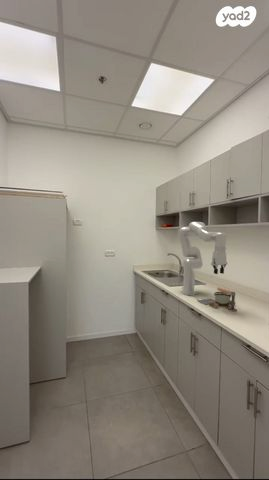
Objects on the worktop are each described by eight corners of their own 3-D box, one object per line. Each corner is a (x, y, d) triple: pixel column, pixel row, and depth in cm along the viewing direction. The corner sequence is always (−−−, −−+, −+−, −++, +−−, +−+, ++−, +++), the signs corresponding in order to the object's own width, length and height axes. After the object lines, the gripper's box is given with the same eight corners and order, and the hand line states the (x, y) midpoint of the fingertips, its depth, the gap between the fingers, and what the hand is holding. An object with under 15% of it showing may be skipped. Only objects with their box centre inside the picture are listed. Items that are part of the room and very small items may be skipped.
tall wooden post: (216, 290, 176) (217, 287, 176) (219, 289, 177) (219, 286, 177) (233, 296, 161) (233, 292, 161) (236, 295, 162) (236, 292, 162)
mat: (196, 300, 183) (196, 300, 183) (211, 299, 188) (211, 298, 188) (205, 305, 173) (205, 304, 173) (220, 303, 179) (220, 302, 179)
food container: (229, 304, 175) (229, 292, 175) (230, 307, 169) (231, 294, 169) (212, 303, 178) (213, 290, 178) (213, 305, 172) (214, 292, 172)
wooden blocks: (208, 305, 173) (208, 291, 173) (227, 302, 181) (227, 289, 180) (224, 312, 158) (225, 298, 158) (244, 309, 166) (245, 295, 165)
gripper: (225, 248, 175) (223, 272, 176) (207, 248, 168) (206, 273, 169) (232, 249, 168) (231, 274, 169) (214, 249, 161) (213, 275, 162)
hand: (218, 273), depth 169 cm, fingers open, 5 cm apart
